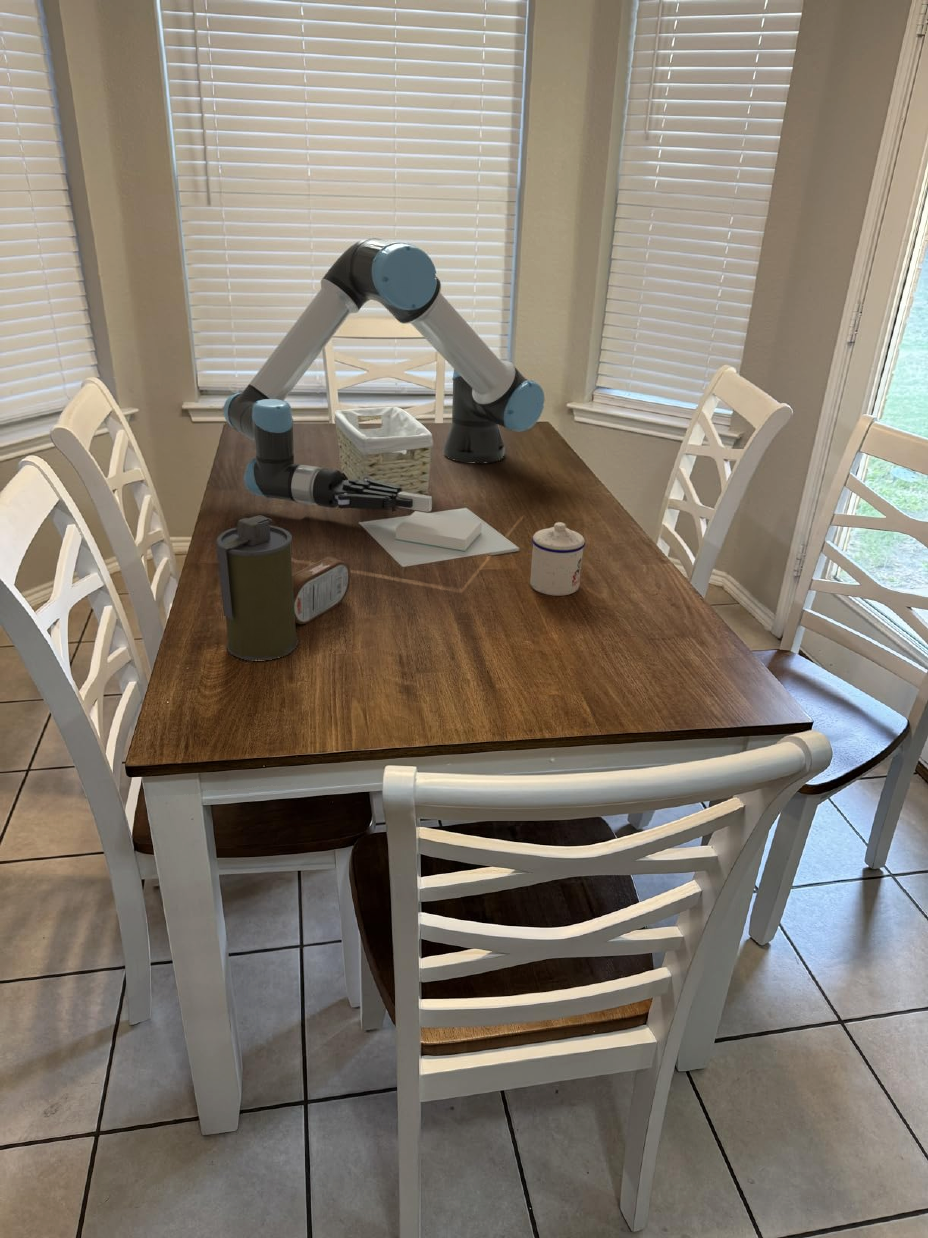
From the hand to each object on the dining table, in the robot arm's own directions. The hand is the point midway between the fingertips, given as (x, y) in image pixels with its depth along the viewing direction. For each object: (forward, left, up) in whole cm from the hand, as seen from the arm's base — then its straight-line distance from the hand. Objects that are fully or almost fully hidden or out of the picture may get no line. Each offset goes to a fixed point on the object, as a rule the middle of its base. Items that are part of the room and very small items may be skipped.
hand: (430, 504), depth 169 cm
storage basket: (-3, -33, -7) cm, 34 cm away
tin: (+30, +22, -7) cm, 38 cm away
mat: (-1, 0, -7) cm, 7 cm away
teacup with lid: (-12, +26, -7) cm, 30 cm away
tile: (+4, -4, -5) cm, 7 cm away
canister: (+41, +29, -7) cm, 51 cm away
